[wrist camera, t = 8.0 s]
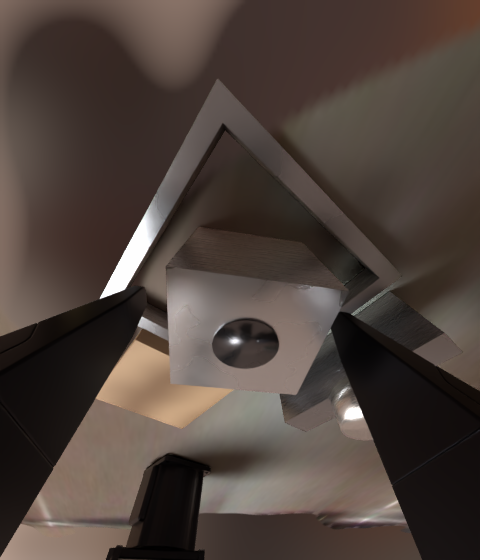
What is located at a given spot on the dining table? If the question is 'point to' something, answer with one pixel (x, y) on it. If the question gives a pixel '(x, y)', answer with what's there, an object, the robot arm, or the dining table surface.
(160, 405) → the stand
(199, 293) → the block with dome knob
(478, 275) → the dining table surface
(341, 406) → the grey rectangular tray
